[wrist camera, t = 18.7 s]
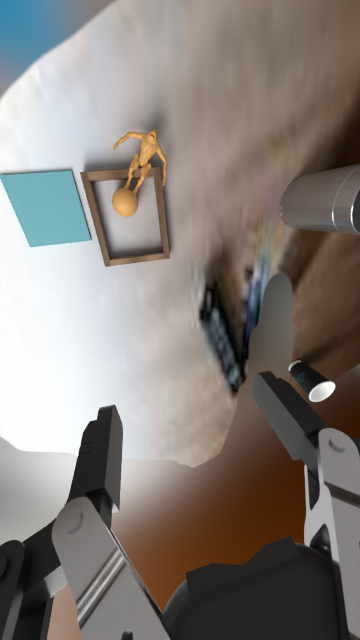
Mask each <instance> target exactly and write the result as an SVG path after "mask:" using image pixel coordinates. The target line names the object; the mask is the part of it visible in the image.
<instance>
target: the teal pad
mask: <svg viewBox="0 0 360 640" xmlns="http://www.w3.org/2000/svg"><path fill="white" fill-rule="evenodd" d="M0 179H1V181H2V183H3V186H4V188H5V190H6V192H7V195H8V197H9V199H10V202H11V204H12V206H13V209H14V211H15V213H16V215H17V218H18V220H19V222H20V225H21V227H22V229H23V232H24V234H25V236H26V238H27V241H28V243H29V245H30V247H36V246H45V245H54V244H63V243H72V242H81V241H90V240H91V237H90V233H89V230H88V226H87V223H86V219H85V216H84V212H83V209H82V205H81V202H80V198H79V195H78V191H77V188H76V184H75V181H74V177H73V174H72V171H59V172H44V173H29V174H14V175H0Z"/></svg>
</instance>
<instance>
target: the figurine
mask: <svg viewBox="0 0 360 640" xmlns="http://www.w3.org/2000/svg"><path fill="white" fill-rule="evenodd" d="M129 136H131V137H134V138H138V139H141V140H142V143H141V153H140V156H139V157H138V154H137V153H136V154H135V155H134V158H133V161H132V163H131V164H130V168H129V173H128V176H129V179H128V181H127V183H126V185H125V186H124V187H123V188H120V189H118V190H116V191H115V193H114V194H113V197H112V203H113V207H114V209H115V210H116V212H117V213H118V214H120V215H122V216H125V217H129V216H132V215H133V214H134V213H135V212H136V210H137V207H138V201H137V198H136V193H137V191H138V188H139V186H140V185H141V184H142V183H143V180H144V179H145V178H146V176H147V174H148V171H149V170H150V168H151V164H150V163H148V161H149V159H150V158H151V157H152V156H153V155H154V154H155V152H157V153H158V154H159V156H160V158H161V159H162V161H163V162H164V171H163V174H164V179H163V180H162V181H163V183H162V185H163V186H164V184H165V181H166V168H167V160H166V158H165V156H164V154H163V152H162V150H161V147H160V146H159V144H158V141H157V133H156V131H155V130H152V131H151V132H150V133H148V134H145V133H137V132H128V133H127V134H126V135H125V136H124V137H122V138H120V139H119V140H118V141H117V142H116V144H115V145H114V148H115V149H116V147H117V148H118V144H120V143H122V142H124V141H125V140H126V139H128V138H129ZM114 148H113V150H115V149H114ZM147 163H148V164H147ZM139 164H140V166H143V167H142V168H141V178H140V179H139V180H138V184H137V185H136V187H135V189H134V191H131V190H129V189H128V187H129V185H130V182H131V178H132V177H133V174H132V172H133V171H134V170H136V169H137V168H138V166H139Z"/></svg>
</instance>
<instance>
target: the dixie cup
mask: <svg viewBox="0 0 360 640" xmlns="http://www.w3.org/2000/svg"><path fill="white" fill-rule="evenodd" d="M289 371H290V373H291V374H292V376H293V377H294V378H295V380H296V381H297V382H298V383H299V385H300V386H301V387H302V389H303V390H304V391H305V393H306V394H307V395H308V396H309V399H310V400H311V401H313V402H317V401H321V400H323V399H325V398H327V397H328V396H329V395H331V394H332V392H333V391H334V389H335V384H334V382H332V381H329V380H328V379H326V378H325V377H324V376H322V375H321V374H319V373H318V372H317V371H315V370H314V369H312V368H311V367H310V366H308V365H307V364H305V363H304V362H301V361H299V360H297V361H294V362H293V363H291V364H290V366H289Z"/></svg>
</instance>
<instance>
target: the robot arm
mask: <svg viewBox="0 0 360 640" xmlns="http://www.w3.org/2000/svg"><path fill="white" fill-rule="evenodd" d="M280 216H281V218H282V221H283V222H284V224H285V225H287V226H288V227H291V228H298V229H307V230H316V231H326V232H335V233H344V234H355V235H360V164H357V165H352V166H347V167H342V168H337V169H332V170H328V171H323V172H318V173H312V174H308V175H303V176H300V177H298V178H297V179H295V180H294V181H293V182H292V183H291V184H290V185H289V186H288V188H287V189H286V191H285V192H284V194H283V197H282V200H281V204H280ZM253 396H254V399H255V401H256V403H257V404H258V406H259V407H260V409H261V410H262V412H263V413H264V415H265V417H266V418H267V420H268V421H269V423H270V424H271V426H272V428H273V429H274V431H275V432H276V434H277V435H278V437H279V438H280V440H281V442H282V443H283V444H284V446H285V448H286V449H287V451H288V452H289V454H290V456H291V457H292V459H293V460H298V459H301V458H302V460H303V461H304V463H305V486H306V508H307V513H306V520H305V531H304V536H305V545H303V544H298V543H294V541H293V539H292V537H291V536H289V537H286V538H283V539H280V540H277V541H274V542H272V543H269V544H266V545H265V546H264V547H263V548H262V549H261V550H260V551H259V552H258V553H257V554H256V555H255V556H253V557H252V558H251V559H250V560H249V561H248V562H247V563H246V564H244V565H232V564H218V563H212V564H209V565H207V566H204V567H201V568H198V569H195V570H192V571H189V572H187V573H186V580H185V581H184V582H183V583H182V584H181V585H180V586H179V587H178V588H177V590H176V591H175V592H174V594H173V595H172V597H171V598H170V600H169V602H168V603H167V605H166V608H165V609H164V612H163V614H162V612H161V610H160V609H159V607H158V605H157V604H156V602H155V600H154V599H153V597H152V595H151V594H150V592H149V590H148V589H147V587H146V586H145V584H144V582H143V581H142V579H141V578H140V576H139V575H138V573H137V572H136V570H135V568H134V567H133V565H132V563H131V562H130V560H129V558H128V557H127V555H126V553H125V552H124V550H123V548H122V547H121V545H120V543H119V542H118V540H117V538H116V536H115V535H114V533H113V531H112V530H111V517H112V513H115V512H119V505H120V482H121V462H122V442H123V427H122V422H121V419H120V416H119V414H118V411H117V408H116V406H115V405H111V406H106V407H102V408H100V409H99V411H98V417H97V420H94V421H90V422H89V424H88V425H87V427H86V429H85V430H84V432H83V436H82V440H81V446H80V449H79V456H78V458H77V462H76V467H75V471H74V476H73V480H72V484H71V489H70V493H69V497H68V500H67V502H66V504H65V506H64V508H63V509H62V510H61V511H60V513H59V514H58V516H57V517H56V518H55V519H54V520H53V521H52V522H51V523H50V524H48V525H47V526H46V527H44V528H43V529H41V530H40V531H38V532H37V533H35V534H34V535H33V536H31V537H29V538H28V539H26V540H25V541H23V542H22V543H21V542H20V541H18V540H11V541H8V542H6V543H4V544H2V545H1V546H0V640H47V634H48V629H49V623H50V617H51V611H52V604H53V599H54V595H55V594H56V593H57V592H59V591H60V590H61V589H62V588H63V587H65V586H66V585H67V584H68V583H69V586H70V588H71V591H72V593H73V596H74V599H75V601H76V605H77V609H78V612H77V619H78V623H79V628H80V630H81V634H82V637H83V639H84V640H360V438H351V437H348V436H347V435H345V434H344V433H342V432H340V431H338V430H335V429H332V428H330V427H329V426H328V425H327V424H326V423H325V422H324V421H323V420H322V419H321V418H320V417H319V415H318V414H317V413H316V412H315V411H314V410H313V409H312V408H311V407H310V406H309V405H308V403H307V402H306V401H305V400H303V398H302V397H301V396H300V394H299V393H297V391H296V390H295V389H294V388H293V387H292V386H291V385H290V384H289V383H287V382H286V381H285V380H283V379H281V378H278V379H277V378H276V377H275V376H274V375H273V373H272V372H270V371H265V372H261V373H256V375H255V380H254V387H253Z"/></svg>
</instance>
